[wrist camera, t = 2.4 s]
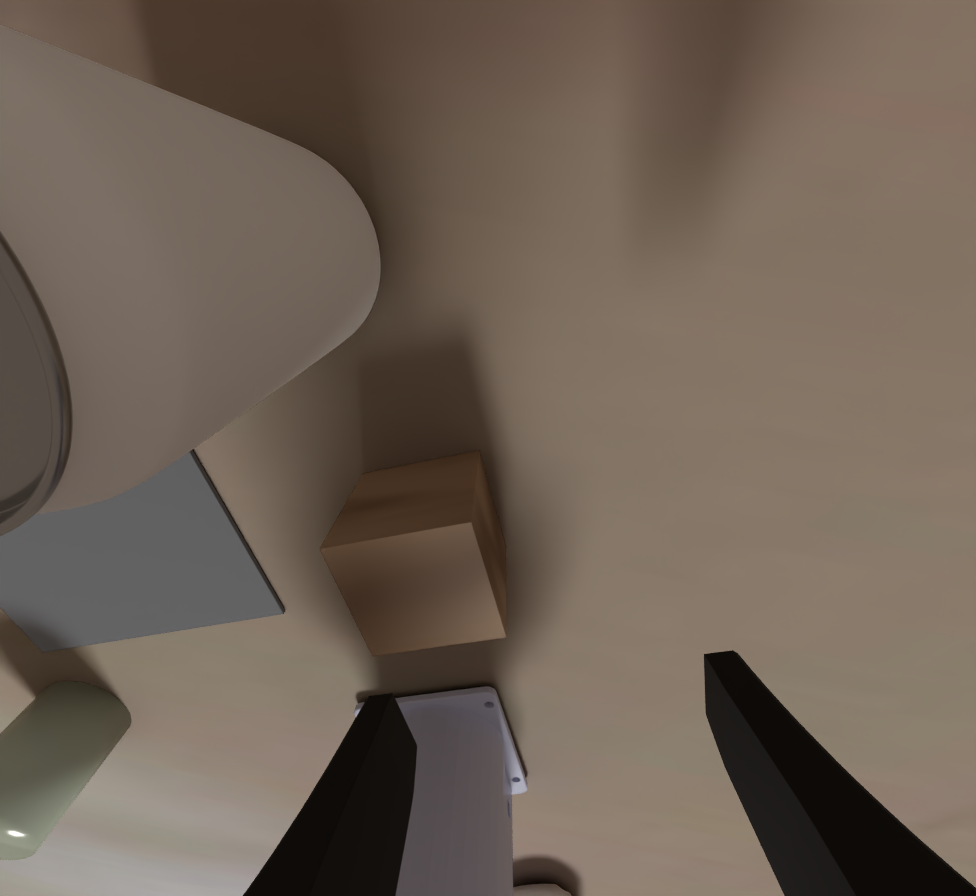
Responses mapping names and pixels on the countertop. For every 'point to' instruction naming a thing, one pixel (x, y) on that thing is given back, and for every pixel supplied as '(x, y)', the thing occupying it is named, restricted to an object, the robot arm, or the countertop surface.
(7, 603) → the slate mat
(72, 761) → the sage cylinder
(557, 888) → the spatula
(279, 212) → the can
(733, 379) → the countertop surface
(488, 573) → the walnut block
